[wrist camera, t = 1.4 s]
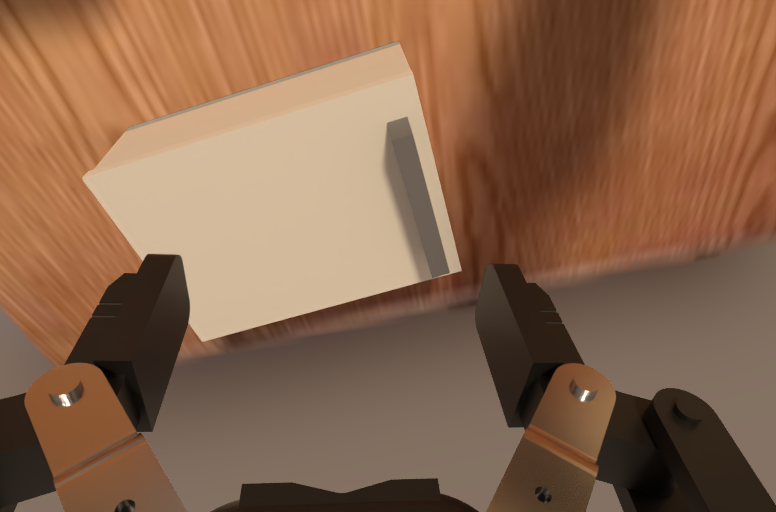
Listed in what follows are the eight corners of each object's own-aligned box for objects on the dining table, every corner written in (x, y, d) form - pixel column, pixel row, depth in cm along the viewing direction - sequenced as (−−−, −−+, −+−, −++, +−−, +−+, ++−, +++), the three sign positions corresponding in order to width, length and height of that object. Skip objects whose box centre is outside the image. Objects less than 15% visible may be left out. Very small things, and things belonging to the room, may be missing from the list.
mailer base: (398, 40, 34) (411, 71, 29) (441, 209, 42) (458, 259, 37) (128, 127, 36) (91, 172, 30) (220, 273, 44) (204, 329, 39)
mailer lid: (411, 69, 28) (419, 89, 26) (459, 264, 37) (469, 293, 34) (87, 172, 30) (63, 199, 27) (204, 334, 39) (195, 367, 36)
